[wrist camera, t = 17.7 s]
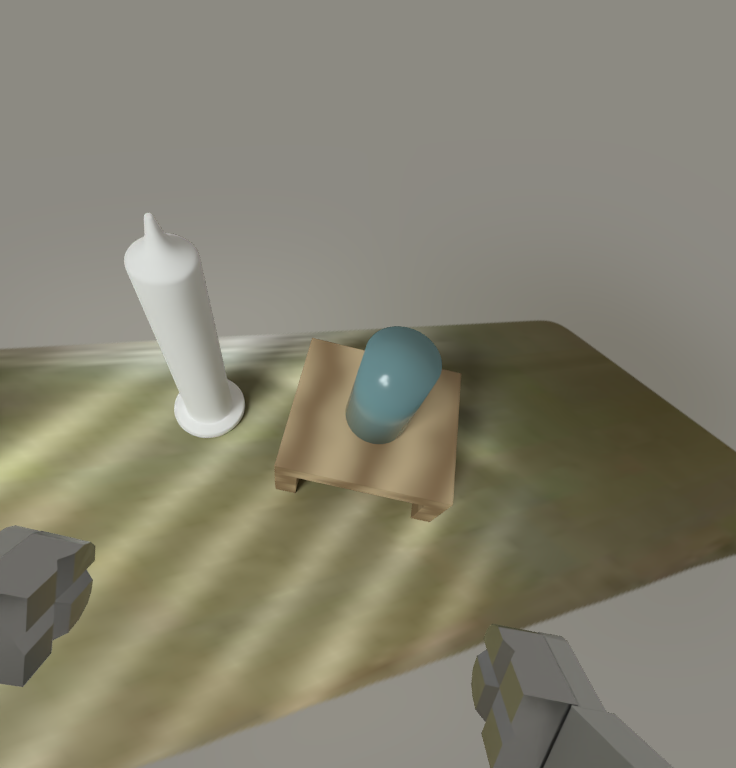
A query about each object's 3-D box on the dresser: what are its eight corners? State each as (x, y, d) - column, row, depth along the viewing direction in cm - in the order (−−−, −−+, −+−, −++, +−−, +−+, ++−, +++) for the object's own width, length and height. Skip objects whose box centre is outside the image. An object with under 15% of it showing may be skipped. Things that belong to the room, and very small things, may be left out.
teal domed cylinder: (338, 434, 39) (357, 380, 31) (352, 380, 42) (373, 317, 34) (401, 451, 40) (437, 402, 31) (411, 396, 43) (445, 338, 34)
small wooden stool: (275, 488, 43) (274, 465, 37) (308, 372, 50) (312, 337, 44) (429, 522, 44) (453, 504, 38) (440, 403, 51) (461, 373, 45)
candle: (229, 369, 49) (186, 165, 27) (256, 420, 46) (232, 239, 25) (165, 394, 46) (62, 188, 24) (190, 449, 43) (100, 274, 22)
